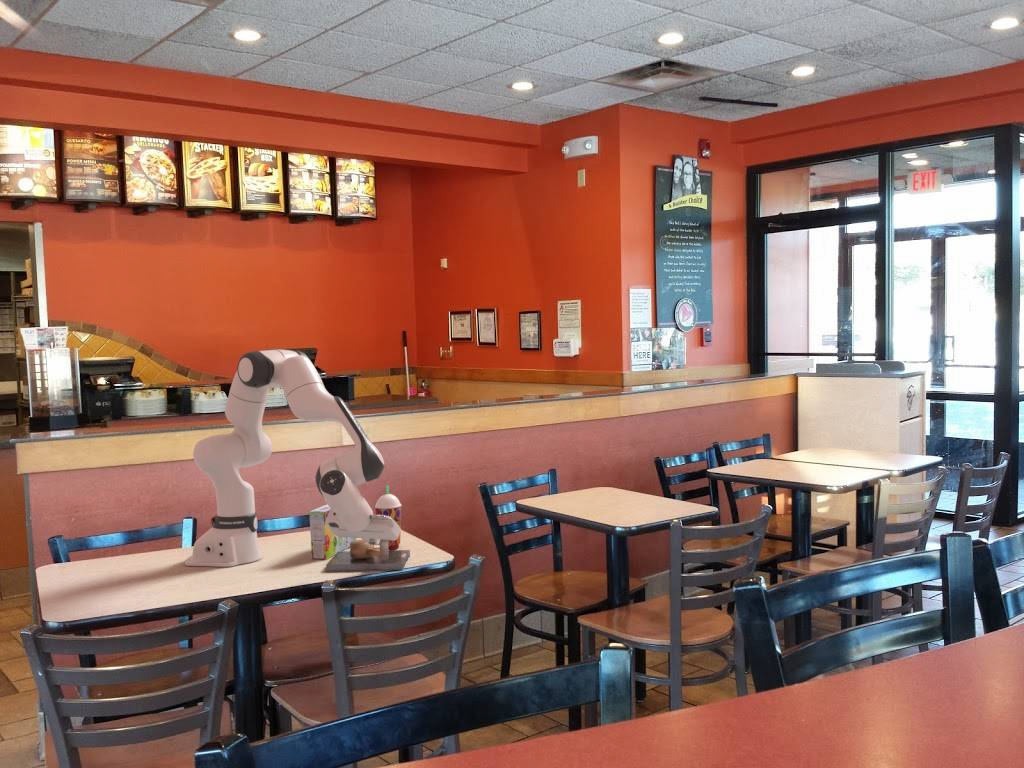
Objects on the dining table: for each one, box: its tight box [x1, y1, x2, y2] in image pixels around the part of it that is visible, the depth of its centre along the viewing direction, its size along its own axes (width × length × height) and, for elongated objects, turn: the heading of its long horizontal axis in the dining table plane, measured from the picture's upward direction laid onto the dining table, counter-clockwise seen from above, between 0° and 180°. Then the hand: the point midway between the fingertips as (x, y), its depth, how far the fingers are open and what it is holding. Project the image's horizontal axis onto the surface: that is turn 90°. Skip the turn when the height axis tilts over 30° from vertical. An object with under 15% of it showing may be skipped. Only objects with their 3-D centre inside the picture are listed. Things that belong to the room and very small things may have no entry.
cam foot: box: [349, 539, 389, 560], centre depth 265 cm, size 15×7×12 cm, turn 49°
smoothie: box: [374, 485, 402, 550], centre depth 287 cm, size 8×8×20 cm
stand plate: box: [325, 549, 411, 573], centre depth 268 cm, size 22×16×2 cm
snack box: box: [308, 503, 357, 560], centre depth 285 cm, size 21×6×15 cm, turn 164°
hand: (374, 542), depth 256 cm, fingers closed
